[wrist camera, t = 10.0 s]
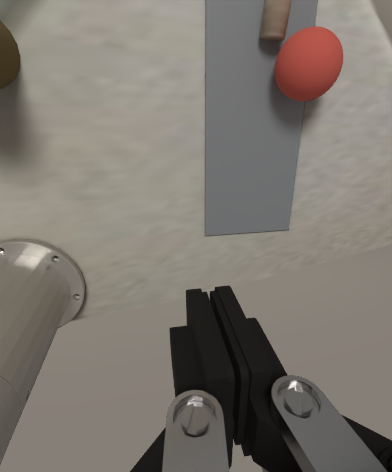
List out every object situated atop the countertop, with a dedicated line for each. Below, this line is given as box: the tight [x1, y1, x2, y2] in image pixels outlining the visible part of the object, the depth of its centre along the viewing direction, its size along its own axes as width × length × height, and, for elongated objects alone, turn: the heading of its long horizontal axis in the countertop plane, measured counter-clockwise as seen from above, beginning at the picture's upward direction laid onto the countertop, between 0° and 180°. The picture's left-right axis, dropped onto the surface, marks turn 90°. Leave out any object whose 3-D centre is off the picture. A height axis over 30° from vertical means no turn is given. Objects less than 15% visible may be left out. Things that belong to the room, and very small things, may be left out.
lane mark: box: [205, 0, 318, 236], centre depth 31 cm, size 24×11×1 cm, turn 1°
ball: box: [275, 27, 343, 101], centre depth 27 cm, size 6×6×6 cm
